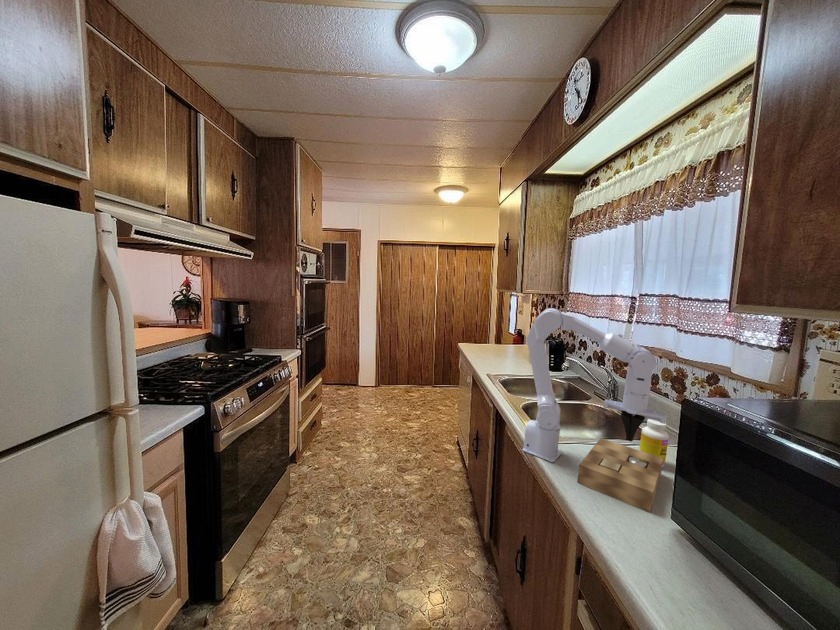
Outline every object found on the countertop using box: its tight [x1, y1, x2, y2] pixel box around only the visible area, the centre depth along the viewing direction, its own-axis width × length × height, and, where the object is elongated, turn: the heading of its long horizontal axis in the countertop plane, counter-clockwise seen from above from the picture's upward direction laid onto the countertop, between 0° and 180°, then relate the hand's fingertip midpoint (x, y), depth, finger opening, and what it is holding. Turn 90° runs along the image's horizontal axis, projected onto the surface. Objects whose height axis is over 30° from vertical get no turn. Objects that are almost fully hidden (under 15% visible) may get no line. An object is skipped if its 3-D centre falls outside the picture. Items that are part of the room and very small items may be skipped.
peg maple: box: [600, 459, 621, 472], centre depth 89 cm, size 4×4×5 cm
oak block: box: [576, 438, 663, 513], centre depth 92 cm, size 16×22×5 cm
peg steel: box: [629, 457, 647, 468], centre depth 92 cm, size 4×4×5 cm
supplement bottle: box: [638, 419, 670, 468], centre depth 101 cm, size 7×7×13 cm
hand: (629, 439), depth 94 cm, fingers closed
